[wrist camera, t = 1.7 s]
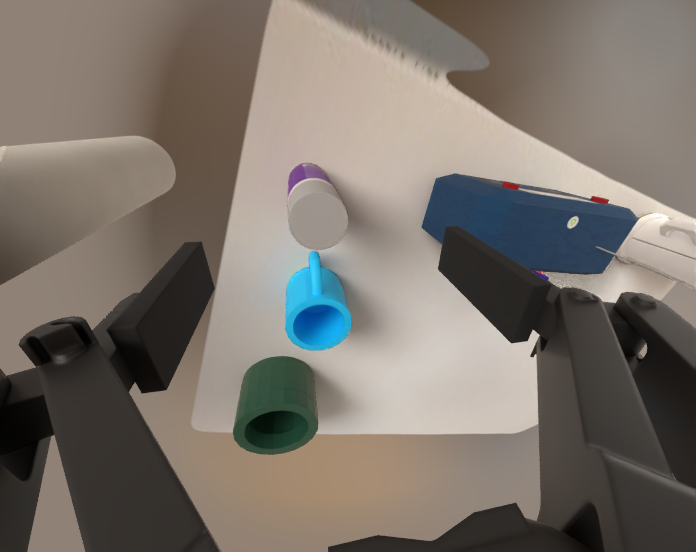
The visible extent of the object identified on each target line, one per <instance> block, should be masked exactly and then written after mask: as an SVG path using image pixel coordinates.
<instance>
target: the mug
mask: <svg viewBox="0 0 696 552" xmlns="http://www.w3.org/2000/svg"><path fill="white" fill-rule="evenodd" d="M351 325H352V320H351V314H350V311H349V308H348V305H347V301H346V298H345V295H344V292H343V289H342V285H341V282H340V280H339V279H338V277H337V275H336V274H334V273H333V272H332V271H331V270H329V269H326V268H323V267H321V263H320V256H319V253H318V252H316V251H312V252H310V254H309V267H308V268H304V269H302V270H300V271H298V272H296V273H295V274H294V275H293V276H292V277H291V278H290V281H289V283H288V285H287V292H286V328H285V329H286V332H287V335H288V338H289V339H290V340H291V341H292V342H293V344H295V345H297V346H299V347H300V348H303V349H307V350H325V349H329V348H331V347H333V346H335V345H337V344H339V343H340V342H341V341H343V340H344V339H345V338H346V336H347V335H348V333H349V332H350V329H351Z"/></svg>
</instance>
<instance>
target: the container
mask: <svg viewBox="0 0 696 552" xmlns="http://www.w3.org/2000/svg"><path fill="white" fill-rule="evenodd" d="M287 206H288V222H289V228H290V231H291V234H292V235H293V237H294V238H295V239H296V241H297V242H299V243H300V244H301V245H303V246H305V247H307V248H310V249H315V250H322V249H327V248H330V247H332V246H334V245H335V244H337V243H338V242H339V241H340V240H341V239H342V238H343V236H344V235H345V233H346V231H347V227H348V214H347V211H346V208H345V206H344V204H343V202H342V201H341V199H340V197H339V195H338V193H337V191H336V189H335V188H334V186H333V185H332V183H331V182H330V180H329V179H328V177H327V176H326V174H325V173H324V172H323V170H322V169H321V168H320V167H318V166H317V165H315V164H312V163H302V164H299V165H298V166H296V167H295V168H294V169H293V170H292V172H291V173H290V176H289V181H288V200H287Z"/></svg>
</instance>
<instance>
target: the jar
mask: <svg viewBox="0 0 696 552" xmlns="http://www.w3.org/2000/svg"><path fill="white" fill-rule="evenodd" d="M317 430H318V414H317V403H316V392H315V381H314V375H313V372H312V370H311V369H310V367H309V366H308V365H307V364H305V363H304V362H302V361H300V360H298V359H295V358H291V357H272V358H267V359H264V360H262V361H259V362H258V363H256V364H254V365H253V366H252V367H251V368H250V369H249V370H248V371H247V372H246V374H245V375H244V378H243V383H242V386H241V391H240V396H239V402H238V407H237V413H236V418H235V423H234V429H233V435H234V439H235V441H236V442H237V443H238V444H239V446H240V447H242V448H244V449H245V450H247V451H250V452H253V453H257V454H269V455H271V454H272V455H273V454H281V453H286V452H289V451H293V450H295V449H297V448H299V447H301V446H303V445H305V444H306V443H307V442H309V441H310V440H311V439H312V438H313V437H314V435H315V434H316V432H317Z"/></svg>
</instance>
